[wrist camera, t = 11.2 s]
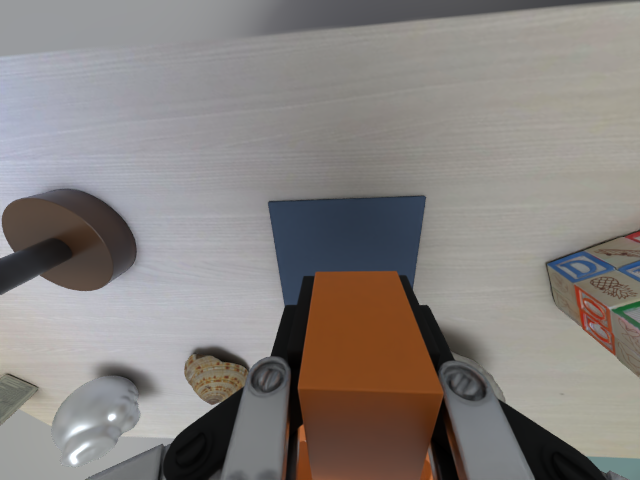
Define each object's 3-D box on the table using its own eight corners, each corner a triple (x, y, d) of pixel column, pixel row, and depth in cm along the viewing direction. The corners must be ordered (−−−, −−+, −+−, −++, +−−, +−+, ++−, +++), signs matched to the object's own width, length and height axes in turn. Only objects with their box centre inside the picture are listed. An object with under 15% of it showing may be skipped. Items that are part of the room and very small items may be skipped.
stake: (17, 190, 23) (-349, 271, 11) (110, 186, 23) (-171, 269, 10) (70, 275, 28) (-146, 400, 15) (150, 274, 27) (-11, 406, 15)
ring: (213, 271, 9) (122, 382, 5) (514, 269, 8) (670, 401, 4) (273, 466, 16) (252, 574, 12) (439, 476, 15) (473, 598, 11)
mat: (269, 201, 22) (267, 202, 22) (424, 195, 21) (426, 196, 21) (287, 314, 28) (286, 317, 28) (407, 315, 27) (408, 317, 27)
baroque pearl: (147, 406, 40) (92, 488, 31) (89, 382, 38) (13, 463, 29) (165, 381, 36) (109, 466, 27) (103, 353, 34) (20, 435, 25)
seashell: (197, 349, 29) (235, 405, 28) (229, 327, 34) (262, 373, 34) (164, 376, 32) (197, 427, 31) (198, 351, 37) (227, 395, 36)
